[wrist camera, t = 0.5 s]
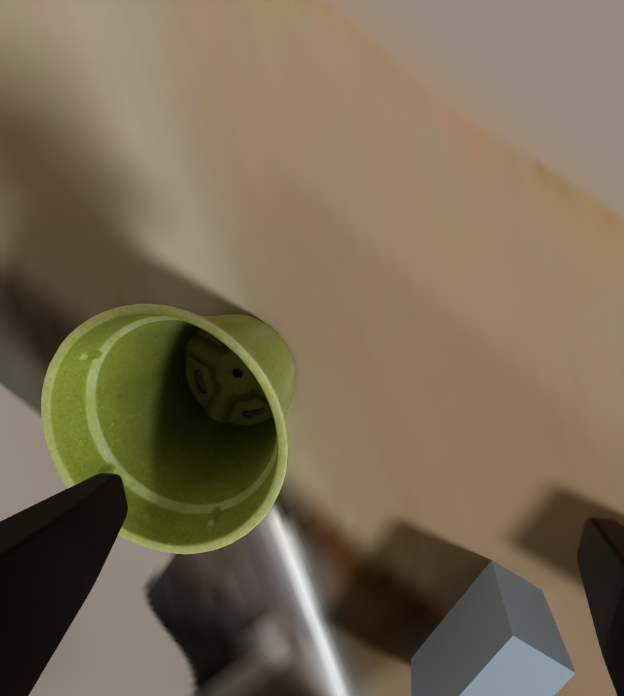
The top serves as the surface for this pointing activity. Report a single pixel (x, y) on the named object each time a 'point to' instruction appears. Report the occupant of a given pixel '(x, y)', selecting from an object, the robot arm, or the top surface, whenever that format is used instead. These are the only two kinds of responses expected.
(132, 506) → the plant pot
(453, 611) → the light blue block
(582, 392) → the top surface
